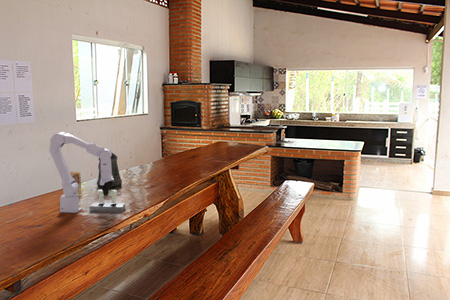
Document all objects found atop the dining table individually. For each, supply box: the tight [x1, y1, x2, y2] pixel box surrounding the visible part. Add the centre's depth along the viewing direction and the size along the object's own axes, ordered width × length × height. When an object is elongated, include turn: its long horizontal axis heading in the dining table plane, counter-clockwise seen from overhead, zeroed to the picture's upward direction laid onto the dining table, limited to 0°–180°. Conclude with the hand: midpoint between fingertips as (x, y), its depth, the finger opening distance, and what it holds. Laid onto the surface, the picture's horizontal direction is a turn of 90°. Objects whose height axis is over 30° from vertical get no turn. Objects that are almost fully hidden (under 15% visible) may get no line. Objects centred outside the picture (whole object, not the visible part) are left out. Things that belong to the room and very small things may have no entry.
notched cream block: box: [96, 189, 118, 203], centre depth 224 cm, size 10×3×6 cm, turn 86°
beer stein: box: [96, 152, 123, 190], centre depth 271 cm, size 16×19×25 cm
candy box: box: [70, 171, 82, 198], centre depth 250 cm, size 9×4×15 cm, turn 96°
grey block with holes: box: [89, 202, 126, 213], centre depth 225 cm, size 18×7×3 cm, turn 86°
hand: (107, 194), depth 224 cm, fingers closed on notched cream block, 3 cm apart
